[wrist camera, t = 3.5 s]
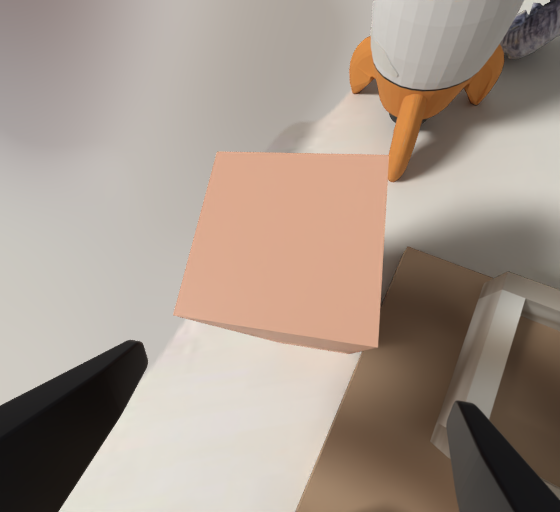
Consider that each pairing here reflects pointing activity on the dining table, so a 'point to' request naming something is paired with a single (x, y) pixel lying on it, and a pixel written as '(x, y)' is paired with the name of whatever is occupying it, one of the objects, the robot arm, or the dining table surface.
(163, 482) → the dining table surface
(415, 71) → the toy rocket
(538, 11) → the seashell
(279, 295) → the post
